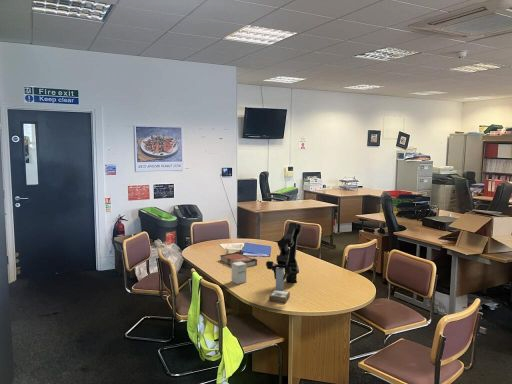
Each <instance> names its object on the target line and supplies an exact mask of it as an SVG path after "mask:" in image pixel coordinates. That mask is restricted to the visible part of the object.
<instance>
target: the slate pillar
mask: <svg viewBox="0 0 512 384" xmlns="http://www.w3.org/2000/svg"><path fill="white" fill-rule="evenodd" d="M284 274H285V269H284V268H278V267H277V268H276V279H275V290H277V291H285V280H283V278H284Z"/></svg>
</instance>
